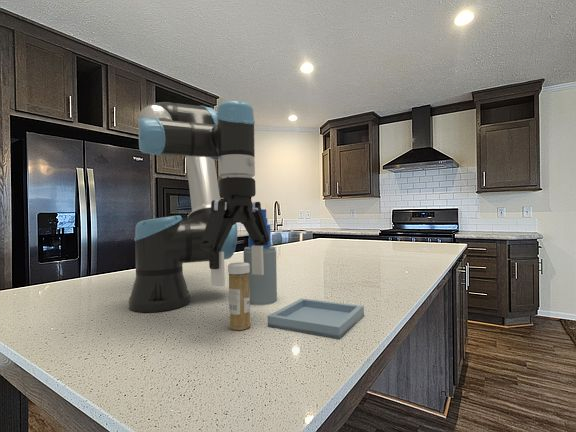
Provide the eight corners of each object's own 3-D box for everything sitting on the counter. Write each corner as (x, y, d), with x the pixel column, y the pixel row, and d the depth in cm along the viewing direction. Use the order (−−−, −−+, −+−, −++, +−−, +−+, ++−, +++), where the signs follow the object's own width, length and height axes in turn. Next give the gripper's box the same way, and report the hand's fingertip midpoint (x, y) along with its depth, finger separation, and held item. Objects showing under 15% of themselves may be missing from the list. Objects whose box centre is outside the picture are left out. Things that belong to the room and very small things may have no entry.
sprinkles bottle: (254, 328, 70) (253, 263, 70) (234, 332, 68) (233, 265, 68) (244, 322, 74) (243, 261, 74) (225, 326, 72) (224, 263, 72)
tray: (267, 326, 71) (267, 315, 71) (301, 307, 85) (301, 298, 85) (339, 339, 63) (339, 327, 63) (363, 315, 77) (363, 305, 77)
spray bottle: (268, 306, 87) (266, 208, 86) (238, 303, 90) (236, 209, 90) (282, 297, 95) (280, 208, 95) (253, 295, 98) (252, 209, 98)
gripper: (210, 169, 58) (212, 293, 58) (282, 181, 80) (284, 271, 80) (178, 173, 61) (181, 290, 61) (256, 183, 83) (258, 269, 83)
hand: (239, 279), depth 71 cm, fingers open, 13 cm apart
